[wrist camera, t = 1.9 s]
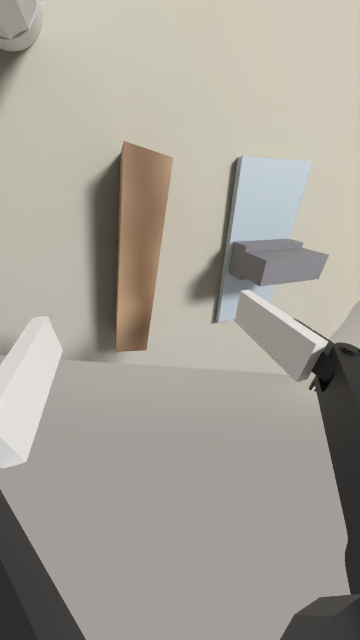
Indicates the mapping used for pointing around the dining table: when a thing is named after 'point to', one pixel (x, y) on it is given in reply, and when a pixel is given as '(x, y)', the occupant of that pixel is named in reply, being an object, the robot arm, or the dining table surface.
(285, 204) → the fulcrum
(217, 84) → the dining table surface
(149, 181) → the bar
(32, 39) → the cup
